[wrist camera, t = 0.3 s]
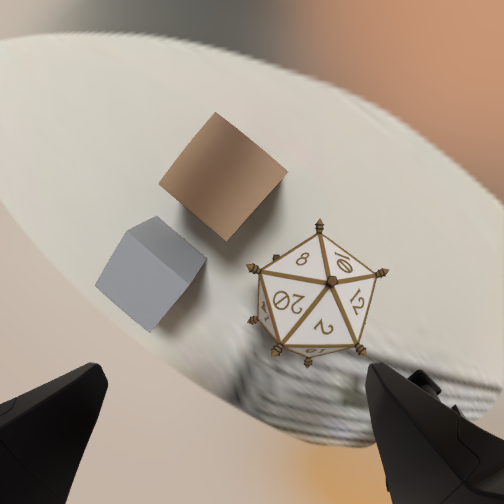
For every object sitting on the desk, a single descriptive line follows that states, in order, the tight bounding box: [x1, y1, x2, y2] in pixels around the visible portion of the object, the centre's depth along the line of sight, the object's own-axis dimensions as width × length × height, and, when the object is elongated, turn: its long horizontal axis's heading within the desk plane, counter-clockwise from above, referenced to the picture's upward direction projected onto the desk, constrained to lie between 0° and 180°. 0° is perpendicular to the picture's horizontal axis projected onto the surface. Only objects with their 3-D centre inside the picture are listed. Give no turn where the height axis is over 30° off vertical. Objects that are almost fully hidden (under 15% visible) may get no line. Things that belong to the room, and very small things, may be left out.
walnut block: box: [159, 112, 288, 242], centre depth 17 cm, size 5×5×5 cm
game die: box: [246, 219, 389, 368], centre depth 17 cm, size 9×8×10 cm
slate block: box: [95, 216, 207, 333], centre depth 19 cm, size 5×5×5 cm
